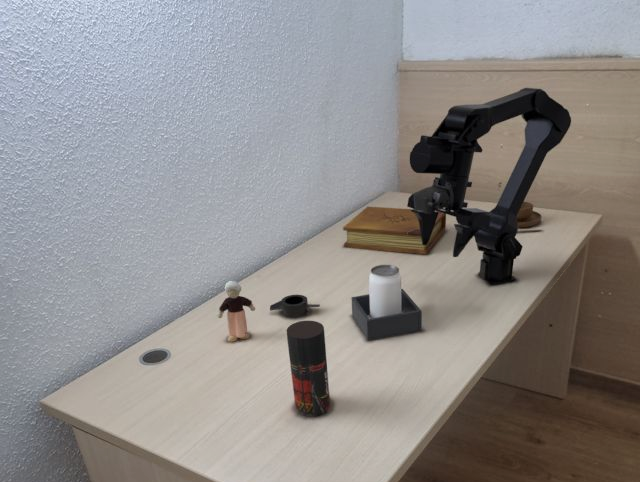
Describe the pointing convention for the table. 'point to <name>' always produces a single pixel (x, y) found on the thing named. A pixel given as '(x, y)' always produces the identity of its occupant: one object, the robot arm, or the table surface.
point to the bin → (387, 318)
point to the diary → (391, 230)
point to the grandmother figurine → (235, 311)
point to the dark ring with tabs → (293, 306)
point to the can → (384, 291)
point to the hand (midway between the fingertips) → (439, 250)
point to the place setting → (527, 216)
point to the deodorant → (309, 367)
